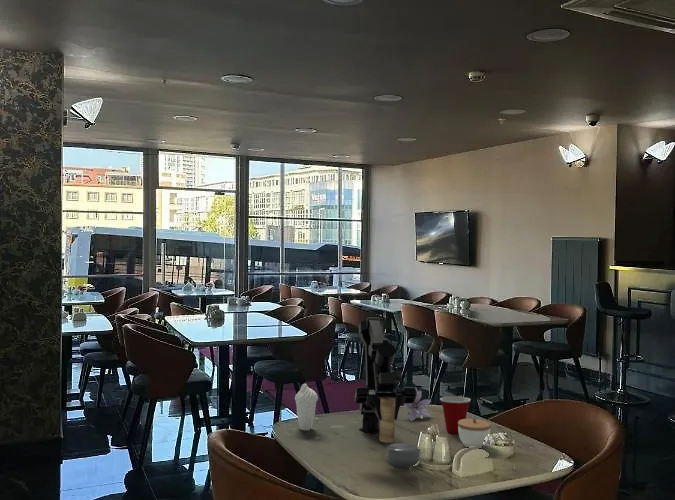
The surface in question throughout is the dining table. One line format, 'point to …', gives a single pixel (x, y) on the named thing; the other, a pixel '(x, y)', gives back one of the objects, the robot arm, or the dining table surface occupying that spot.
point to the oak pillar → (387, 419)
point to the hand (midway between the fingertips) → (388, 419)
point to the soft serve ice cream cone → (306, 407)
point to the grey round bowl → (402, 455)
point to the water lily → (418, 407)
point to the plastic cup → (454, 411)
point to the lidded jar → (473, 431)
